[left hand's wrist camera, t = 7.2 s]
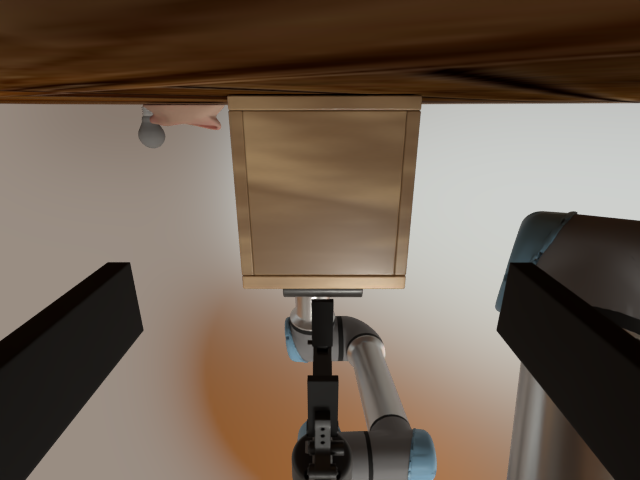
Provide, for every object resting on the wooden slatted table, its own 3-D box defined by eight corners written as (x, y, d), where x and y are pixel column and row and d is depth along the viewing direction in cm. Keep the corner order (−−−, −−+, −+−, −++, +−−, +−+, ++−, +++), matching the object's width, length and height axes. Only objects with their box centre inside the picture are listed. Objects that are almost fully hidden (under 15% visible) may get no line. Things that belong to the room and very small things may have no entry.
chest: (378, 100, 32) (372, 208, 36) (267, 100, 32) (273, 208, 36) (422, 95, 18) (406, 275, 22) (226, 95, 18) (241, 275, 22)
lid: (371, 207, 37) (367, 280, 40) (274, 207, 37) (277, 280, 40) (406, 276, 22) (395, 386, 25) (241, 276, 22) (251, 386, 25)
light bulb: (155, 105, 84) (161, 149, 87) (164, 105, 89) (170, 146, 93) (128, 105, 83) (136, 149, 87) (139, 105, 89) (146, 146, 93)
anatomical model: (143, 136, 47) (233, 134, 50) (137, 103, 46) (230, 104, 49) (151, 130, 59) (224, 129, 62) (147, 104, 57) (221, 104, 61)
